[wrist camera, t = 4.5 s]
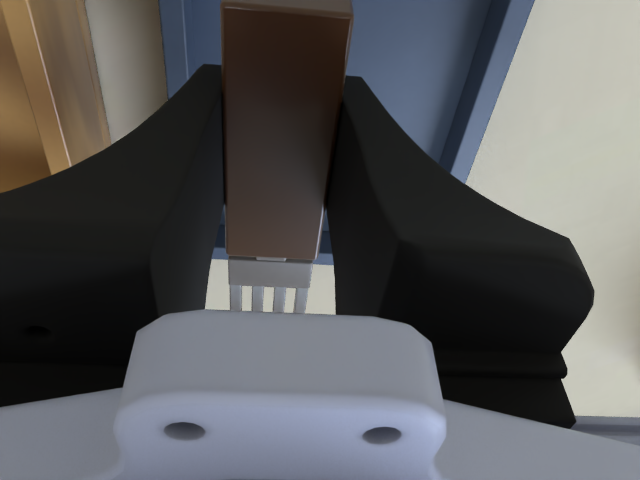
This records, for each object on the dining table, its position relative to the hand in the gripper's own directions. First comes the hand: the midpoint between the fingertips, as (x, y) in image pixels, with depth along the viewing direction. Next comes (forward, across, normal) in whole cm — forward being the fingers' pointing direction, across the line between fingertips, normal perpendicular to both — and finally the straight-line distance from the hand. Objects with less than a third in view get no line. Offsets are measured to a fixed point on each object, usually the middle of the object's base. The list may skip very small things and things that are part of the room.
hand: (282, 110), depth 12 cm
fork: (+1, 0, +3) cm, 3 cm away
